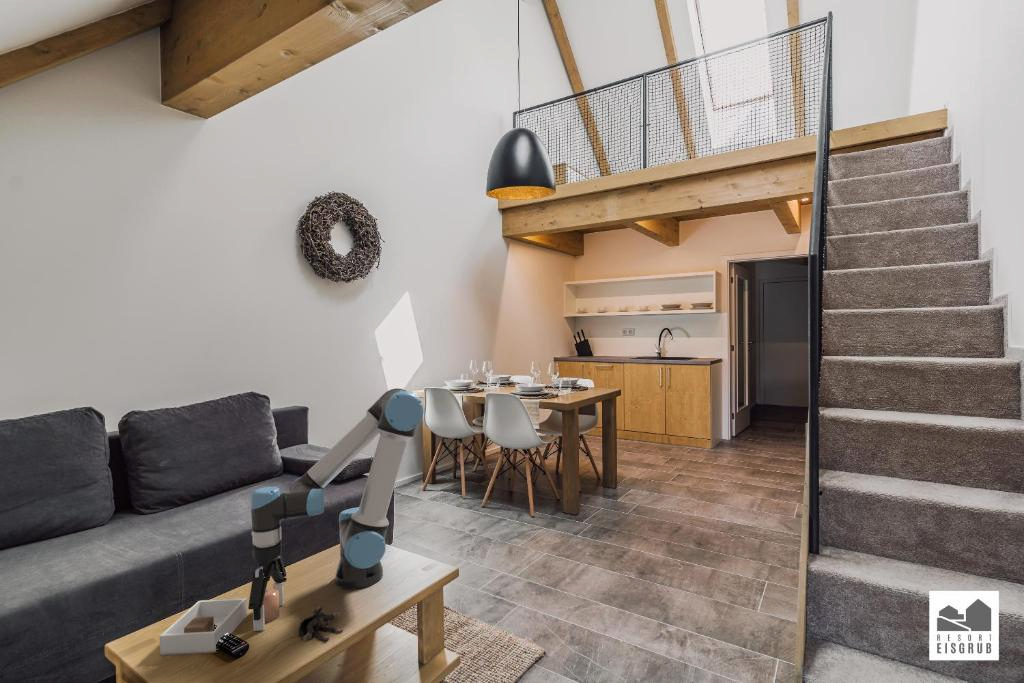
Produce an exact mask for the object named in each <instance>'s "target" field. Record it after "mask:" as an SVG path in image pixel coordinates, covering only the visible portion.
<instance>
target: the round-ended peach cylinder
mask: <svg viewBox="0 0 1024 683" xmlns="http://www.w3.org/2000/svg"><path fill="white" fill-rule="evenodd" d="M262 605H264V619H265V623H271V622H274V621H276V620H278V618H279V617H280V606H279V591H278V590H276V589H273V588H270V589H266V591H265V596H264V600H263V604H262Z"/></svg>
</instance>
